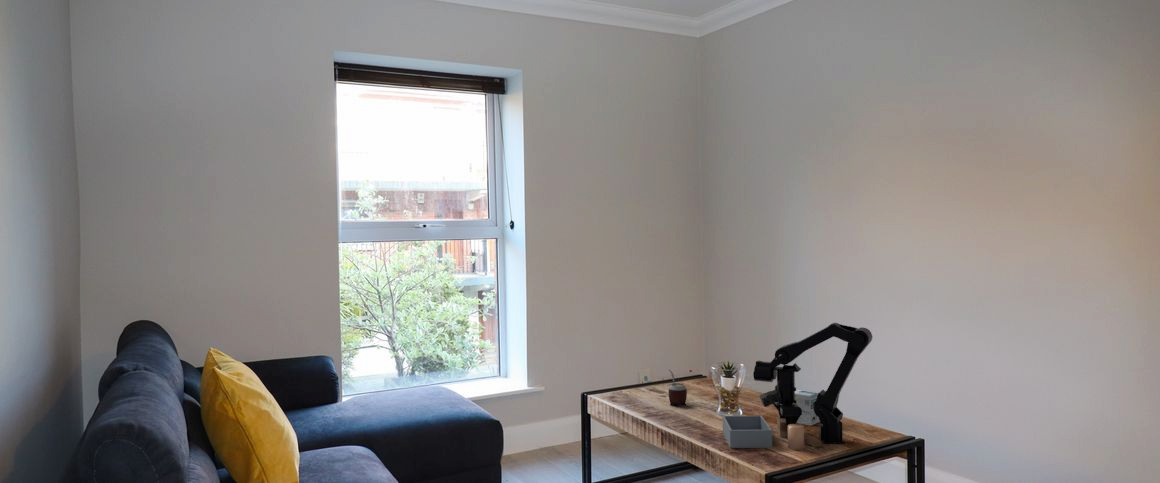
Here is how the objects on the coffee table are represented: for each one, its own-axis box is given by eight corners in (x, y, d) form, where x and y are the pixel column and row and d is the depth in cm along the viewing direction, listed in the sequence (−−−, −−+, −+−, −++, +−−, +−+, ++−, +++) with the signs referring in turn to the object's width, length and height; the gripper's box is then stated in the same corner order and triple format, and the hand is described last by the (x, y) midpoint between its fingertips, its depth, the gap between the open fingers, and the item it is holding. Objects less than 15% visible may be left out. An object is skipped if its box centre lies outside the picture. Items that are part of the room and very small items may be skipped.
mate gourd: (685, 402, 300) (684, 364, 299) (688, 407, 292) (688, 369, 292) (666, 403, 300) (665, 365, 299) (669, 408, 292) (668, 369, 291)
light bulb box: (820, 422, 269) (819, 391, 268) (811, 426, 264) (811, 395, 264) (792, 417, 276) (792, 387, 276) (783, 421, 271) (783, 391, 271)
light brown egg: (802, 445, 243) (801, 423, 243) (806, 450, 238) (805, 428, 238) (786, 445, 243) (786, 423, 243) (789, 450, 238) (789, 428, 238)
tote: (761, 431, 258) (761, 415, 258) (772, 447, 241) (772, 430, 241) (722, 432, 259) (722, 415, 259) (730, 447, 242) (730, 430, 242)
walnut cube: (792, 432, 257) (791, 418, 257) (795, 437, 252) (795, 422, 252) (777, 433, 257) (776, 418, 257) (780, 437, 252) (780, 422, 252)
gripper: (756, 377, 264) (756, 422, 264) (766, 390, 245) (767, 438, 245) (788, 377, 263) (789, 422, 264) (801, 390, 244) (802, 438, 245)
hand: (786, 429), depth 254 cm, fingers open, 9 cm apart
